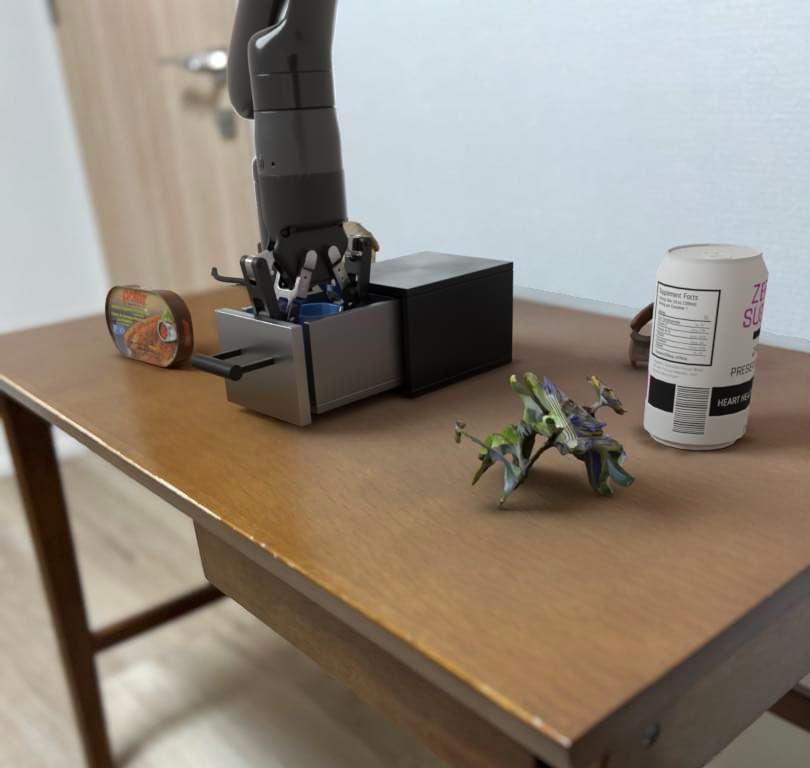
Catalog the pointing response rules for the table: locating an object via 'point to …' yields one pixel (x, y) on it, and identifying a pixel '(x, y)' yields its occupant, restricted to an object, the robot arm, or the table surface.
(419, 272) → the black drawer cabinet
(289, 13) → the robot arm
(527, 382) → the passion flower
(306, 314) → the blue cup
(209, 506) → the table surface
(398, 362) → the dish drawer
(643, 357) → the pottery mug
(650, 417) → the supplement can
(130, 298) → the tin
